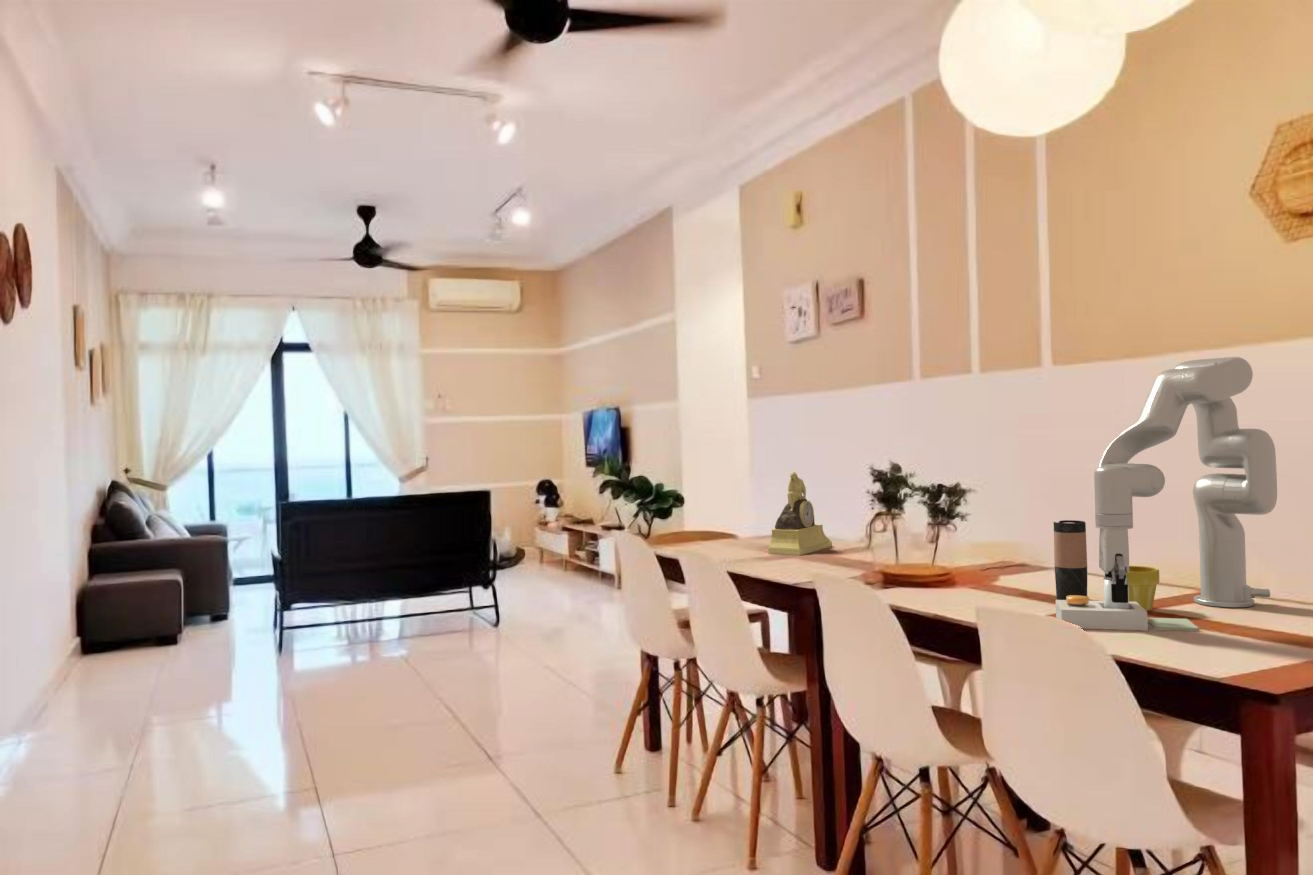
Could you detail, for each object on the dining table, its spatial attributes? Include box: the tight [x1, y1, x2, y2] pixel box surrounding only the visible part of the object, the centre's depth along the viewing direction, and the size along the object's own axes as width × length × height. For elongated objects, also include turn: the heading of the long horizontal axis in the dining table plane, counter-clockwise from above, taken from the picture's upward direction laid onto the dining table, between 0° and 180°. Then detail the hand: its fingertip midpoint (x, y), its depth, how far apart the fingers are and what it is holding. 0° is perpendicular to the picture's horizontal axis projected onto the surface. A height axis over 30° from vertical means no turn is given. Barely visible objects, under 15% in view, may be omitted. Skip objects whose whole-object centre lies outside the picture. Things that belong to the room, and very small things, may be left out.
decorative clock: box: [767, 471, 833, 556], centre depth 347 cm, size 28×13×30 cm, turn 145°
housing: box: [1055, 599, 1149, 631], centre depth 205 cm, size 17×12×4 cm
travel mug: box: [1053, 519, 1088, 600], centre depth 233 cm, size 8×8×20 cm
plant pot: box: [1126, 565, 1160, 612], centre depth 220 cm, size 10×10×10 cm
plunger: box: [1066, 595, 1090, 607], centre depth 207 cm, size 5×5×4 cm
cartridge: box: [1103, 577, 1129, 609], centre depth 204 cm, size 5×5×10 cm
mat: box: [1147, 617, 1200, 632], centre depth 201 cm, size 8×10×1 cm
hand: (1116, 598), depth 204 cm, fingers open, 8 cm apart
